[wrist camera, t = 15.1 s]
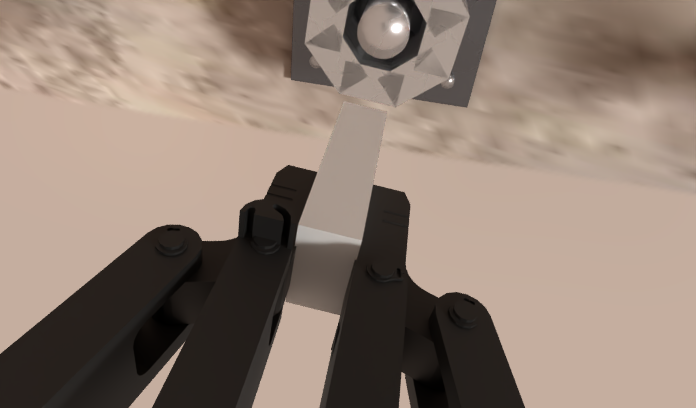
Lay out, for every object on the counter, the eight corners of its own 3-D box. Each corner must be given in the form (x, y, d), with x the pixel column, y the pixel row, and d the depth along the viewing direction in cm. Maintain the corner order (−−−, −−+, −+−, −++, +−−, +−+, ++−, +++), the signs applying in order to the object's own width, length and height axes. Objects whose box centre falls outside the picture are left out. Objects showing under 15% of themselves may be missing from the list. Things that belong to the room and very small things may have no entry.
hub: (292, 77, 39) (264, 122, 32) (300, -135, 30) (264, -130, 24) (466, 104, 38) (473, 156, 32) (523, -105, 30) (548, -92, 23)
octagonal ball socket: (314, 56, 35) (299, 83, 31) (336, -85, 30) (320, -75, 26) (435, 86, 35) (435, 117, 31) (479, -50, 30) (486, -34, 26)
